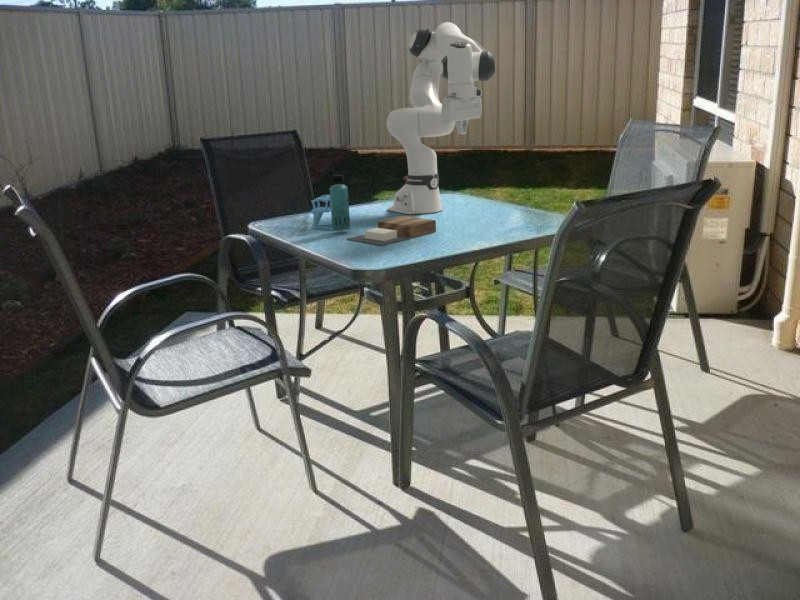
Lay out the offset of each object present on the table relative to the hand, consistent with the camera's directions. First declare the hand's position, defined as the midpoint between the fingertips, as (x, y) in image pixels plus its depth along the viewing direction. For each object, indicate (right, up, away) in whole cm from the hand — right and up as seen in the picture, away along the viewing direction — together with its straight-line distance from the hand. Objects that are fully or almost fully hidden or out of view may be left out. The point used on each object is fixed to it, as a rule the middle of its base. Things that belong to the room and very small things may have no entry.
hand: (462, 134), depth 283 cm
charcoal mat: (-28, -37, -11) cm, 48 cm away
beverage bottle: (-42, -34, +3) cm, 54 cm away
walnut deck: (-19, -34, -2) cm, 39 cm away
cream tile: (-28, -34, -12) cm, 45 cm away
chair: (-48, -31, +12) cm, 59 cm away
